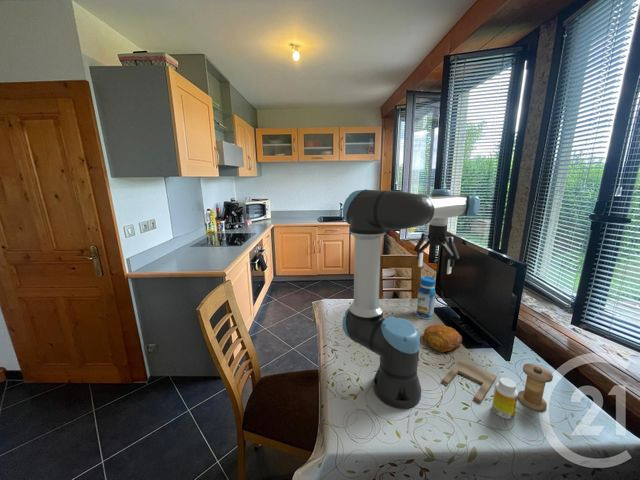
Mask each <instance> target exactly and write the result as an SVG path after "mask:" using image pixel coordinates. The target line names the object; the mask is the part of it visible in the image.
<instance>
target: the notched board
mask: <svg viewBox="0 0 640 480" xmlns="http://www.w3.org/2000/svg"><path fill="white" fill-rule="evenodd" d="M458 374H460V375H461V376H464V377H466V378H467V379H470V380H471V381H474V382H475V383H478V384H480V385H481V386H480V387H479V388H478V390H477V391H476V393H475V394H474V396H473V401H475V402H477V403H479V404H481V403H482V402H483V400H484V399H485V397H486V395H487V394H488V392H489V391H490V389H491V387H492V386H493V384H494V383H495V381H496V380H497V375H495V374H493V373H492V372H489V371H487V370H485V369H482V368H480V367H478V366H476V365H473V364H471V363H469V362H467V361H466V360H463V359H459V360H458V361H457V363H456V364H455V365H454V366H453V367H452V368H451V369H450V370H449V371H448V372H447V373H446V374H445V376H444V377H443V378H442V379H441V383H442V384H444V385H446V386H449V384H450V383H451V382H452V381H453V380H454V378H456V376H457V375H458Z"/></svg>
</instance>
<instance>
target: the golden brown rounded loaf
mask: <svg viewBox="0 0 640 480" xmlns="http://www.w3.org/2000/svg"><path fill="white" fill-rule="evenodd" d="M422 335H423V336H422V338H423V341H424V342H425V343H426V344H427V345H429V346H430V347H431V348H433V349H434V350H436V351H438V352H440V353H445V352H449V351H451V350H453V349H455V348H457V347H458V346H460V344H462V342H463V336H462V335H461V334H460V332H458V330H456V329H455V328H453V327H451V326H446V325H442V324H433V325H429V326H427V327H425V329H424V331H423V334H422Z"/></svg>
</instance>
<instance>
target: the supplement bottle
mask: <svg viewBox="0 0 640 480" xmlns="http://www.w3.org/2000/svg"><path fill="white" fill-rule="evenodd" d="M518 393H519V391H518V390H517V383H516V382H515V381H513V380H512V379H510V378H507V377H501V378H499V381H498V382H496V384H495V385H494V391H493V396H492V397H493V398H492V404H491V408H492V410H493V412H494V413H495V415H498V416H499V417H501V418H502V419H505V420H506V419H507V420H510V419H513V418H514V417H515V415H516V414H515V413H516V409H517V403H518Z"/></svg>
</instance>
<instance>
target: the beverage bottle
mask: <svg viewBox="0 0 640 480" xmlns="http://www.w3.org/2000/svg"><path fill="white" fill-rule="evenodd" d="M419 282H420V283H419V284H420V286H419V287H418V289H417V292H418V293H417V301H416V302H417V303H416V315H417V316H418V317H419V318H421V319H424V320H430V319H433V317H434V310H435V303H436V302H435V300H436V293H437V292H436V289H435V285H436V279H435V278H433V277H432V276H422V277H420V281H419Z"/></svg>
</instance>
